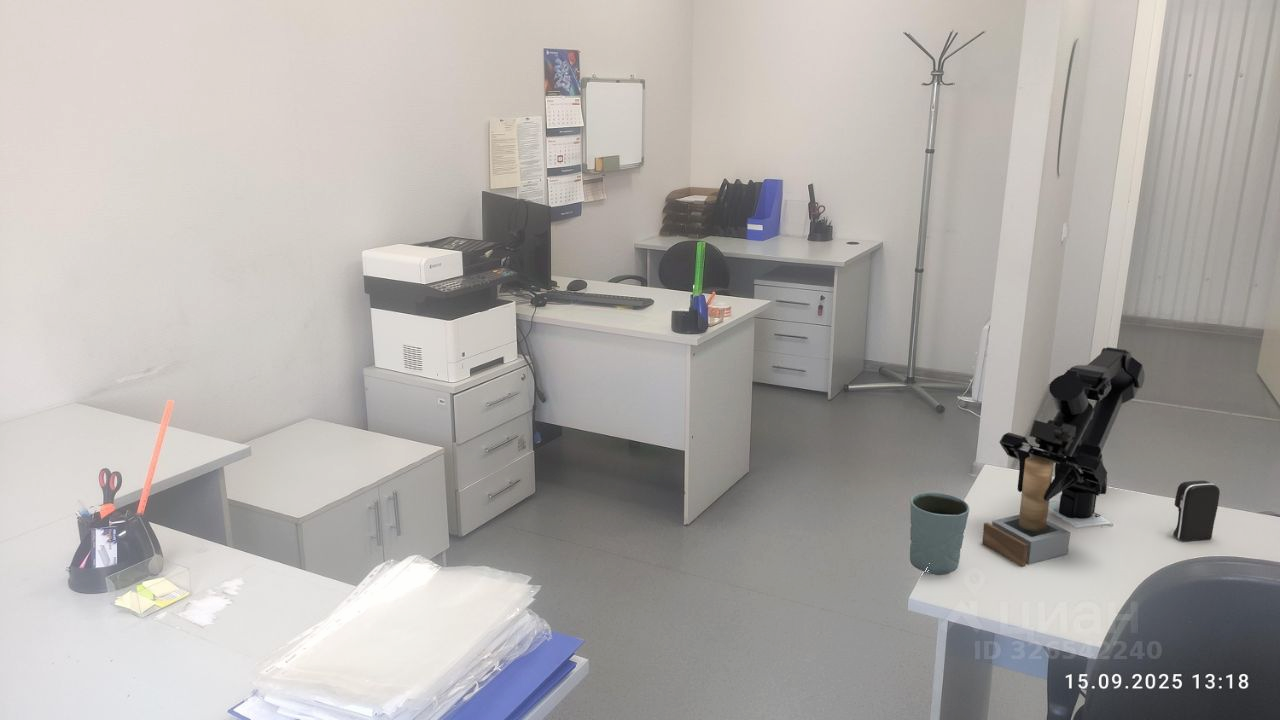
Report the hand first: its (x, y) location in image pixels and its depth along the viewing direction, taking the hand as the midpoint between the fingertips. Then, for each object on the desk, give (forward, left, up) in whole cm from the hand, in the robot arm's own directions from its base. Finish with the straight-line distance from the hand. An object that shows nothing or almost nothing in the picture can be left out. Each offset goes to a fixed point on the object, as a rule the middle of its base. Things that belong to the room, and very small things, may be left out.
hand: (1031, 495), depth 165 cm
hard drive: (-21, -8, -13) cm, 26 cm away
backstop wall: (+5, 0, -11) cm, 13 cm away
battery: (-33, +9, -12) cm, 36 cm away
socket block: (-1, 0, -11) cm, 11 cm away
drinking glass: (+19, -3, -12) cm, 22 cm away
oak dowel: (-1, 0, -7) cm, 7 cm away
